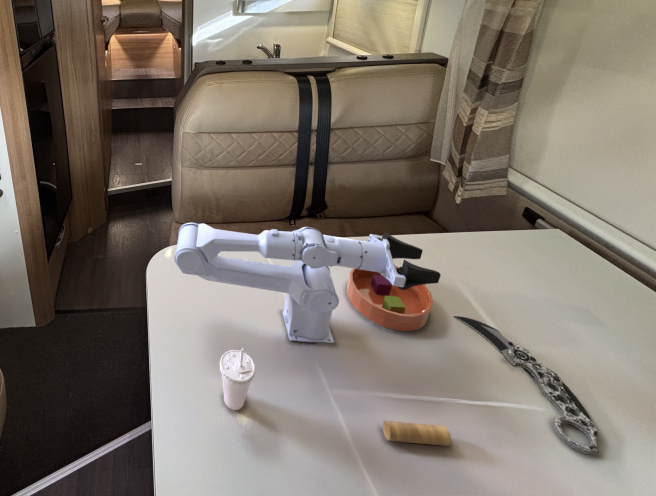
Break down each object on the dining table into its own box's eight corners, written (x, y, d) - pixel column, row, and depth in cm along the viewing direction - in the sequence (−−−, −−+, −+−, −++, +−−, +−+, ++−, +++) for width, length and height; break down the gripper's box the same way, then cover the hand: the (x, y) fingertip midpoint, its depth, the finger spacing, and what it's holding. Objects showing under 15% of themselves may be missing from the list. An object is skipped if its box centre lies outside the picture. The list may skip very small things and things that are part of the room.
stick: (388, 444, 74) (391, 434, 73) (381, 427, 76) (384, 417, 75) (448, 449, 73) (453, 439, 72) (439, 432, 76) (443, 422, 75)
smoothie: (244, 424, 77) (250, 371, 72) (211, 405, 80) (215, 353, 75) (255, 394, 82) (262, 342, 77) (224, 378, 85) (229, 326, 80)
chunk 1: (375, 294, 104) (378, 284, 103) (370, 284, 107) (373, 274, 106) (389, 295, 104) (392, 285, 103) (383, 285, 107) (386, 275, 106)
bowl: (362, 330, 95) (366, 313, 94) (336, 274, 111) (340, 259, 109) (442, 335, 94) (448, 318, 92) (405, 278, 110) (410, 263, 108)
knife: (453, 313, 98) (496, 310, 98) (452, 318, 98) (494, 315, 98) (571, 452, 72) (630, 447, 72) (568, 457, 72) (626, 453, 72)
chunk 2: (388, 317, 98) (390, 306, 97) (382, 306, 101) (384, 295, 100) (402, 318, 98) (405, 307, 96) (396, 306, 101) (399, 296, 99)
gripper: (373, 259, 79) (453, 271, 77) (351, 218, 92) (418, 228, 90) (365, 290, 81) (442, 303, 79) (344, 246, 95) (410, 256, 93)
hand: (429, 265), depth 85 cm, fingers open, 7 cm apart
